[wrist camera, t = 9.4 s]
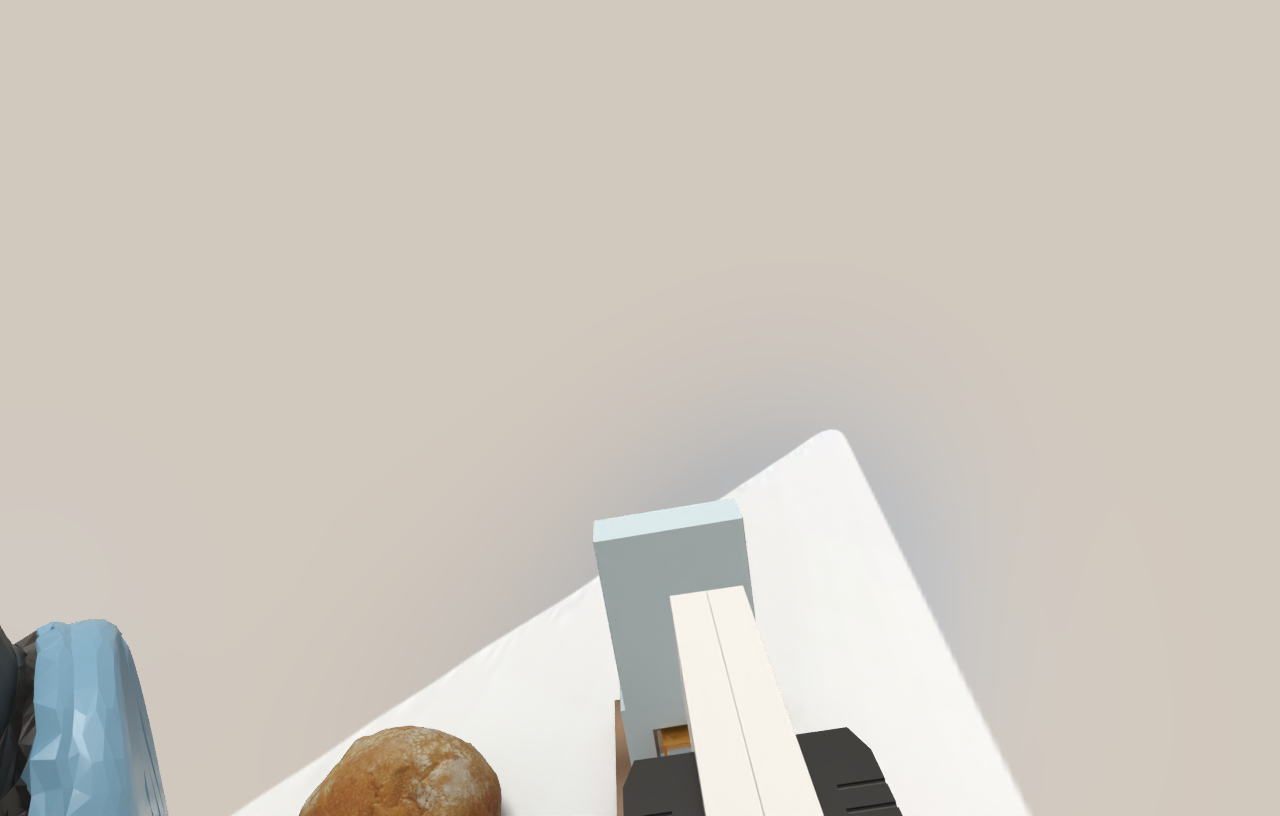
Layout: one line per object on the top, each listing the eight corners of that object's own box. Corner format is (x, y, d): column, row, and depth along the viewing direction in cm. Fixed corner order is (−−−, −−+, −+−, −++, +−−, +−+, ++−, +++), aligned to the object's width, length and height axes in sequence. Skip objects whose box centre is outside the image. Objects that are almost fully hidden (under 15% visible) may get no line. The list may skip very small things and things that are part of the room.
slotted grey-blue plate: (783, 805, 32) (747, 517, 28) (643, 828, 32) (588, 543, 28) (768, 756, 35) (734, 488, 31) (640, 777, 35) (589, 511, 31)
